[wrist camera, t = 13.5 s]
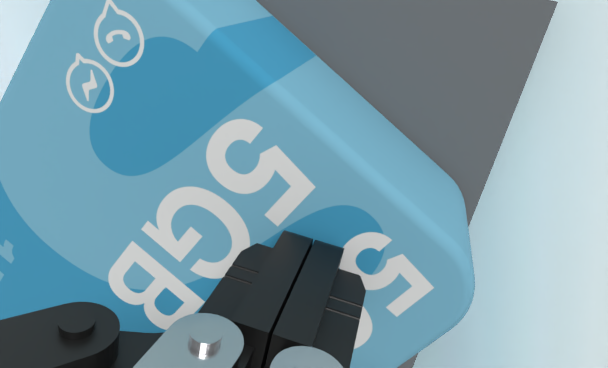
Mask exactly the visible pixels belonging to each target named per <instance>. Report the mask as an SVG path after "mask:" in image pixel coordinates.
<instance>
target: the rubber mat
mask: <svg viewBox="0 0 608 368" xmlns="http://www.w3.org/2000/svg"><path fill="white" fill-rule="evenodd" d="M256 1H257V2H258V3H259V4H261V5H262V6H263V7H264V8H265V9H266V10H267V11H268V12H269V13H270V14H272V15H273V16H274V17H275V18H276V19H277V20H278V21H279V22H280V23H281V24H283V25H284V26H285V27H286V28H287V29H288V30H289V31H290V32H291V33H293V34H294V35H295V36H296V37H297V38H298V39H299V40H300V41H301V42H302V43H304V44H305V45H306V46H307V47H308V48H309V49H310V50H311V51H312V52H313V53H315V54H316V55H317V56H318V57H319V58H320V59H321V60H322V61H323V62H324V63H326V64H327V65H328V66H329V67H330V68H331V69H332V70H333V71H334V72H335V73H337V74H338V75H339V76H340V77H341V78H342V79H343V80H344V81H345V82H347V83H348V84H349V85H350V86H351V87H352V88H353V89H354V90H355V91H356V92H358V93H359V94H360V95H361V96H362V97H363V98H364V99H365V100H366V101H367V102H369V103H370V104H371V105H372V106H373V107H374V108H375V109H376V110H377V111H378V112H380V113H381V114H382V115H383V116H384V117H385V118H386V119H387V120H388V121H390V122H391V123H392V124H393V125H394V126H395V127H396V128H397V129H398V130H399V131H401V132H402V133H403V134H404V135H405V136H406V137H407V138H408V139H409V140H410V141H412V142H413V143H414V144H415V145H416V146H417V147H418V148H419V149H420V150H421V151H423V152H424V153H425V154H426V155H427V156H428V157H429V158H430V159H431V160H433V161H434V162H435V163H436V164H437V165H438V166H439V167H440V168H441V169H442V170H444V171H445V172H446V173H447V174H448V175H449V176H450V177H451V178H452V179H453V180H454V181H455V183H456V184H457V186H458V187H459V189H460V191H461V193H462V196H463V198H464V202H465V208H466V215H467V223H468V226H469V224H470V221H471V219H472V216H473V214H474V211H475V209H476V206H477V204H478V201H479V199H480V196H481V194H482V191H483V189H484V186H485V184H486V181H487V179H488V176H489V174H490V171H491V169H492V166H493V164H494V161H495V158H496V156H497V153H498V151H499V148H500V146H501V143H502V141H503V138H504V136H505V133H506V131H507V128H508V126H509V123H510V121H511V118H512V116H513V113H514V111H515V108H516V106H517V103H518V101H519V98H520V96H521V93H522V91H523V88H524V86H525V83H526V81H527V78H528V75H529V73H530V70H531V68H532V65H533V63H534V60H535V58H536V55H537V53H538V50H539V48H540V45H541V43H542V40H543V38H544V35H545V33H546V30H547V28H548V25H549V23H550V20H551V18H552V15H553V13H554V10H555V8H556V5H557V3H558V2H556V1H551V0H256ZM417 355H418V353H417V354H416V355H414V356H413V357H411V358H410V359H409V360H407V361H406V362H404V363H403V364H402V365H400V366H399V367H397V368H412V367H413V365H414V362H415V360H416V357H417Z"/></svg>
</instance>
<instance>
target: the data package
mask: <svg viewBox="0 0 608 368" xmlns="http://www.w3.org/2000/svg"><path fill="white" fill-rule="evenodd" d="M284 230H286V231H289V232H293V233H296V234H299V235H302V236H306V237H309V238H312V239H313V243H314V241H315V240H319V241H322V242H325V243H329V244H332V245H335V246H338V247H342V248H344V252H343V256H342V259H341V263H340V266H339V269H342V270H345V271H348V272H351V273H354V274H358V275H360V276H361V279H362V282H363V284H364V287H365V289H366V294H365V298H364V303H363V307H362V312H361V317H360V322H359V326H358V331H357V336H356V340H355V345H354V350H353V354H352V359H351V364H350V368H397V367H399V366H400V365H402V364H403V363H404V362H406V361H407V360H409V359H410V358H411V357H413V356H414V355H416V354H417V353H418V352H420V351H421V350H423V349H424V348H425V347H427V346H428V345H430V344H431V343H432V342H434V341H435V340H437V339H438V338H439V337H441V336H442V335H444V334H445V333H446V332H448V331H449V330H451V329H452V328H453V327H454V326H455V325H457V324H458V323H459V322H460V320H461V319H462V318H463V317H464V316H465V314H466V313H467V311H468V309H469V307H470V305H471V303H472V299H473V296H474V289H475V278H474V269H473V262H472V254H471V246H470V239H469V231H468V223H467V215H466V208H465V202H464V198H463V196H462V193H461V191H460V189H459V187H458V186H457V184H456V183H455V181H454V180H453V179H452V178H451V177H450V176H449V175H448V174H447V173H446V172H445V171H444V170H442V169H441V168H440V167H439V166H438V165H437V164H436V163H435V162H434V161H433V160H431V159H430V158H429V157H428V156H427V155H426V154H425V153H424V152H423V151H421V150H420V149H419V148H418V147H417V146H416V145H415V144H414V143H413V142H412V141H410V140H409V139H408V138H407V137H406V136H405V135H404V134H403V133H402V132H401V131H399V130H398V129H397V128H396V127H395V126H394V125H393V124H392V123H391V122H390V121H388V120H387V119H386V118H385V117H384V116H383V115H382V114H381V113H380V112H378V111H377V110H376V109H375V108H374V107H373V106H372V105H371V104H370V103H369V102H367V101H366V100H365V99H364V98H363V97H362V96H361V95H360V94H359V93H358V92H356V91H355V90H354V89H353V88H352V87H351V86H350V85H349V84H348V83H347V82H345V81H344V80H343V79H342V78H341V77H340V76H339V75H338V74H337V73H335V72H334V71H333V70H332V69H331V68H330V67H329V66H328V65H327V64H326V63H324V62H323V61H322V60H321V59H320V58H319V57H318V56H317V55H316V54H315V53H313V52H312V51H311V50H310V49H309V48H308V47H307V46H306V45H305V44H304V43H302V42H301V41H300V40H299V39H298V38H297V37H296V36H295V35H294V34H293V33H291V32H290V31H289V30H288V29H287V28H286V27H285V26H284V25H283V24H281V23H280V22H279V21H278V20H277V19H276V18H275V17H274V16H273V15H272V14H270V13H269V12H268V11H267V10H266V9H265V8H264V7H263V6H262V5H261V4H259V3H258V2H257V1H256V0H50V2H49V5H48V7H47V9H46V11H45V13H44V15H43V17H42V19H41V21H40V23H39V25H38V27H37V29H36V31H35V33H34V35H33V37H32V39H31V41H30V43H29V45H28V47H27V49H26V51H25V53H24V55H23V57H22V59H21V61H20V63H19V65H18V67H17V69H16V71H15V73H14V75H13V77H12V80H11V82H10V84H9V86H8V88H7V90H6V92H5V94H4V96H3V98H2V100H1V102H0V320H2V319H6V318H10V317H14V316H18V315H22V314H26V313H30V312H34V311H38V310H42V309H46V308H50V307H54V306H58V305H62V304H66V303H71V302H92V303H97V304H101V305H103V306H106V307H107V308H109V309H111V310H112V311H113V312H114V313H115V314H116V315H117V317H118V319H119V322H120V331H130V332H143V333H162V332H165V331H166V330H167V329H168V328H169V327H170V326H171V325H172V324H173V323H174V322H175V321H177V320H178V319H180V318H182V317H184V316H187V315H190V314H196V313H198V312H199V310H200V309H201V308H202V306H203V305H204V303H205V302H206V300H207V299H208V298H209V296H210V295H211V293H212V292H213V291H214V289H215V288H216V286H217V285H218V283H219V282H220V281H221V279H222V278H223V277H224V276H225V273H226V272H227V271H228V269H229V268H230V266H232V264H233V262H234V261H235V259H236V258H237V256H238V255H239V254H240V252H241V251H243V250H244V249H246V248H248V247H250V246H252V245H254V244H256V243H258V244H262V245H265V246H268V247H271V248H273V247H274V246H275V244H276V242H277V241H278V239H279V237H280V236H281V234H282V232H283V231H284ZM312 245H313V244H312Z"/></svg>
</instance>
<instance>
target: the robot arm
mask: <svg viewBox="0 0 608 368" xmlns="http://www.w3.org/2000/svg"><path fill="white" fill-rule="evenodd" d="M312 244H313V245H312ZM343 252H344V248H342V247H338V246H335V245H332V244H329V243H325V242H322V241H319V240H315V241H314V243H313V239H312V238H309V237H306V236H302V235H299V234H296V233H293V232H289V231H286V230H284V231H283V232H282V234H281V236H280V237H279V239H278V241H277V242H276V244H275V246H274V247H273V248H271V247H268V246H265V245H262V244H258V243H256V244H254V245H252V246H250V247H248V248H246V249H244V250H243V251H241V252H240V254H239V255H238V256H237V258H236V259H235V261H234V262H233V264H232V266H230V268H229V269H228V271H227V272H226V273H225V276H224V277H223V278H222V279H221V281H220V282H219V283H218V285H217V286H216V288H215V289H214V291H213V292H212V293H211V295H210V296H209V298H208V299H207V300H206V302H205V303H204V305H203V306H202V308H201V309H200V310H199V312H198V313H196V314H190V315H187V316H184V317H182V318H180V319H178V320H177V321H175V322H174V323H173V324H172V325H171V326H170V327H169V328H168V329H167V330H166V331H165V332H162V333H143V332H130V331H120V322H119V319H118V317H117V315H116V314H115V313H114V312H113V311H112V310H111V309H109V308H107V307H106V306H103V305H101V304H97V303H92V302H71V303H66V304H62V305H58V306H54V307H50V308H46V309H42V310H38V311H34V312H30V313H26V314H22V315H18V316H14V317H10V318H6V319H2V320H0V368H350V364H351V359H352V354H353V350H354V345H355V340H356V336H357V331H358V326H359V322H360V317H361V312H362V307H363V303H364V298H365V294H366V289H365V287H364V284H363V282H362V279H361V276H360V275H358V274H354V273H351V272H348V271H345V270H342V269H339V266H340V263H341V259H342V256H343Z"/></svg>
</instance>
